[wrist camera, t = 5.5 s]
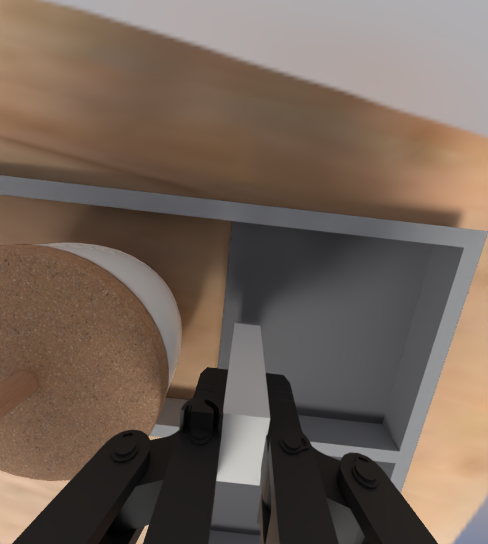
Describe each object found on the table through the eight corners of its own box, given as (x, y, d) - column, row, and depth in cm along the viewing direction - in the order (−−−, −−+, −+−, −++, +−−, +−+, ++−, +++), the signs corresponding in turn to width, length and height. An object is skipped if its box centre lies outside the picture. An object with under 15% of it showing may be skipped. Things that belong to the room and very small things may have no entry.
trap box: (-139, 495, 22) (-224, 555, 18) (-250, 148, 15) (-421, 125, 11) (354, 549, 22) (377, 622, 18) (450, 229, 15) (518, 233, 12)
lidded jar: (39, 230, 16) (-237, 249, 7) (198, 234, 16) (130, 257, 7) (63, 372, 18) (-120, 523, 9) (201, 376, 18) (154, 535, 9)
